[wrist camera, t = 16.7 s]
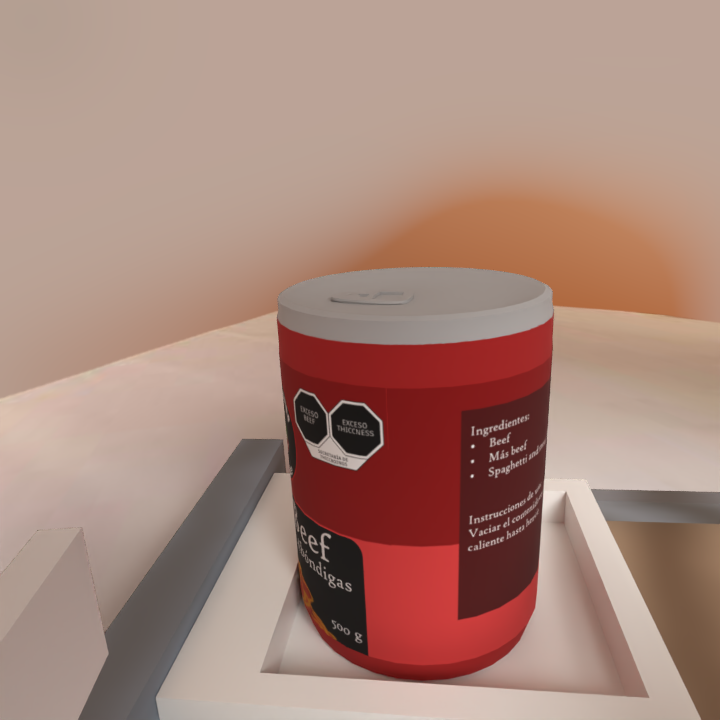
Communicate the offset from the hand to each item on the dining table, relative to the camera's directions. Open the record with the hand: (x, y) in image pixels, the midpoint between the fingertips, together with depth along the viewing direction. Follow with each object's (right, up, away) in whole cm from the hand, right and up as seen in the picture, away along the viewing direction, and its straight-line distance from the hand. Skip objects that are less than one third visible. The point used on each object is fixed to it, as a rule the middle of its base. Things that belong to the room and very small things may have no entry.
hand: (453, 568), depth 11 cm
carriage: (+1, -5, +10) cm, 12 cm away
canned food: (0, -5, +10) cm, 11 cm away
